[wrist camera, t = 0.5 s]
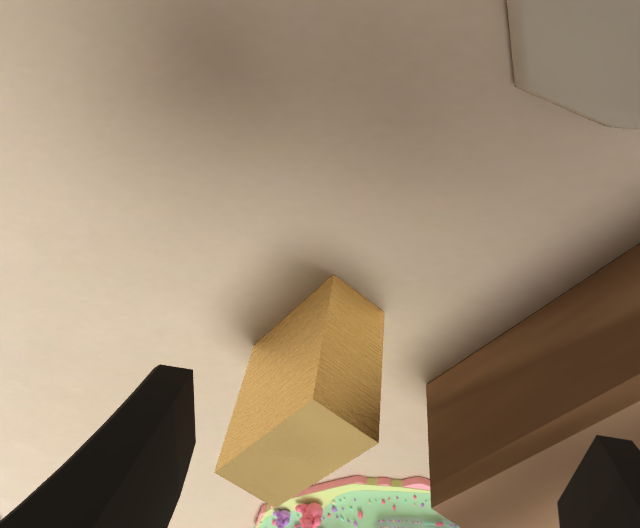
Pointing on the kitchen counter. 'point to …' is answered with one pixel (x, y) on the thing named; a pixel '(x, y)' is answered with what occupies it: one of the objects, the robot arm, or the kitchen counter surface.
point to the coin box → (537, 404)
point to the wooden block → (307, 396)
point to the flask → (580, 56)
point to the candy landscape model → (358, 506)
